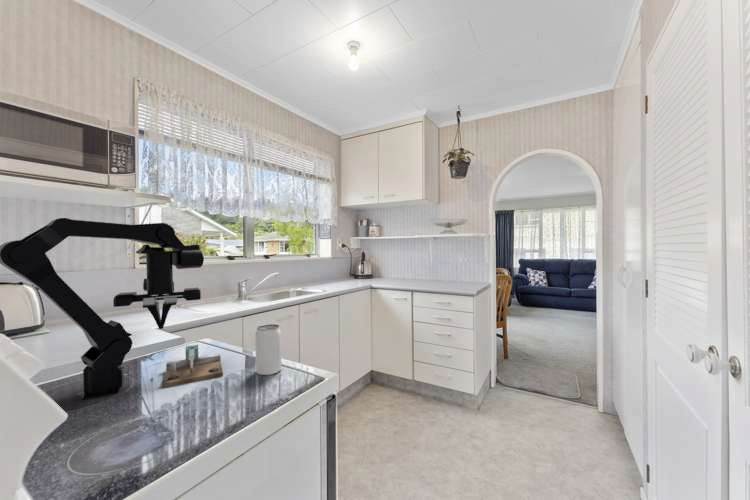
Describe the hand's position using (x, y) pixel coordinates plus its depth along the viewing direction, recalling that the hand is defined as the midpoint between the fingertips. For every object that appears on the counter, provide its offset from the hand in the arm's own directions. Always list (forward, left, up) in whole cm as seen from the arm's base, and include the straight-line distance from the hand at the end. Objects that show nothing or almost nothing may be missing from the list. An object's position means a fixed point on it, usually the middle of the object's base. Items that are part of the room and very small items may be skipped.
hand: (161, 328), depth 84 cm
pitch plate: (+7, -5, -12) cm, 15 cm away
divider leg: (+7, -3, -11) cm, 13 cm away
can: (+25, -14, -12) cm, 31 cm away
